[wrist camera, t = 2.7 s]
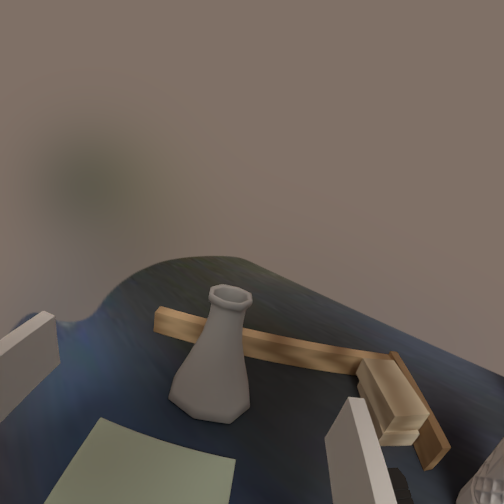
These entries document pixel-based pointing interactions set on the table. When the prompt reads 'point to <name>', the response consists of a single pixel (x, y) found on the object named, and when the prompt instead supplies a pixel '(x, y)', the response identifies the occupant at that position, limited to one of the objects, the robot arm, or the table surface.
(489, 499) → the white cup
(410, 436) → the offcut low
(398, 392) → the offcut top
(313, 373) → the table surface
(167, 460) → the coaster
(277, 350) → the corner fence
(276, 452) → the table surface
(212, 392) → the flask
